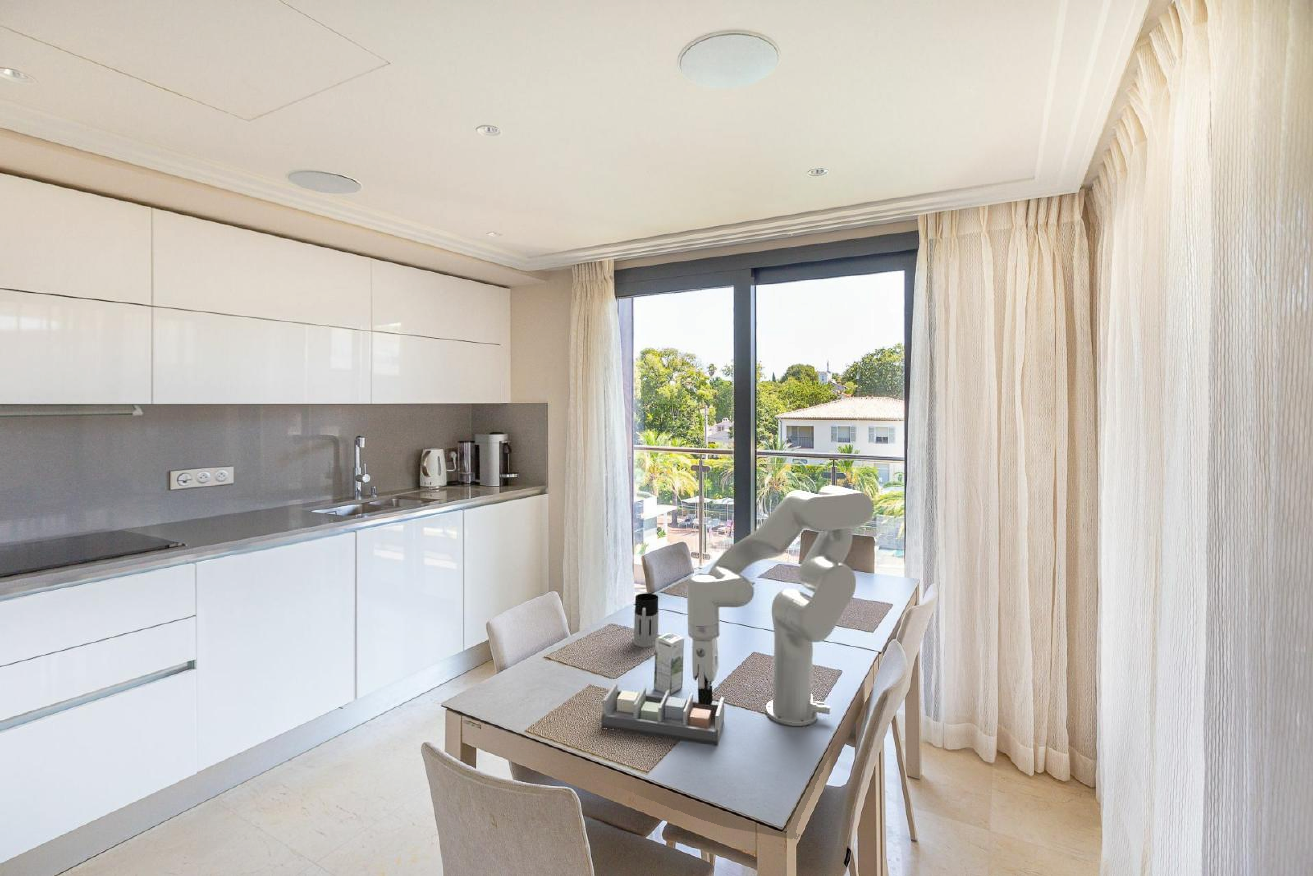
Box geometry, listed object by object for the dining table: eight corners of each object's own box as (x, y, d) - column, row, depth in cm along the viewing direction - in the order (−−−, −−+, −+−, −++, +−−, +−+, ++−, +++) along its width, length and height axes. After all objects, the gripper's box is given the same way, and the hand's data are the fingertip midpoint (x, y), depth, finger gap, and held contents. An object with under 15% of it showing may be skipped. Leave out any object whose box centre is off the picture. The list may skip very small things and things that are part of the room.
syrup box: (666, 682, 174) (667, 631, 173) (683, 688, 170) (684, 637, 170) (653, 689, 170) (654, 637, 169) (670, 696, 166) (671, 643, 165)
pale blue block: (686, 711, 152) (686, 699, 151) (682, 719, 147) (683, 707, 147) (668, 708, 153) (669, 696, 152) (664, 717, 148) (665, 705, 148)
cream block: (639, 704, 154) (639, 692, 154) (634, 713, 150) (634, 700, 150) (622, 702, 155) (622, 690, 155) (616, 710, 151) (617, 698, 151)
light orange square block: (710, 722, 150) (710, 710, 150) (707, 731, 146) (708, 719, 146) (692, 719, 151) (693, 708, 151) (689, 729, 147) (689, 716, 147)
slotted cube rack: (723, 722, 153) (724, 696, 153) (717, 745, 142) (718, 717, 142) (615, 706, 160) (615, 681, 159) (601, 728, 149) (601, 701, 148)
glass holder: (660, 637, 207) (661, 593, 206) (656, 654, 193) (657, 607, 192) (634, 636, 208) (635, 592, 207) (628, 653, 194) (629, 605, 193)
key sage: (662, 715, 153) (662, 703, 153) (658, 724, 149) (658, 712, 149) (645, 713, 154) (645, 701, 154) (640, 722, 150) (640, 709, 150)
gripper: (714, 642, 139) (716, 720, 141) (723, 618, 154) (725, 689, 155) (682, 639, 141) (684, 717, 142) (693, 616, 156) (695, 687, 157)
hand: (705, 702), depth 149 cm, fingers closed
